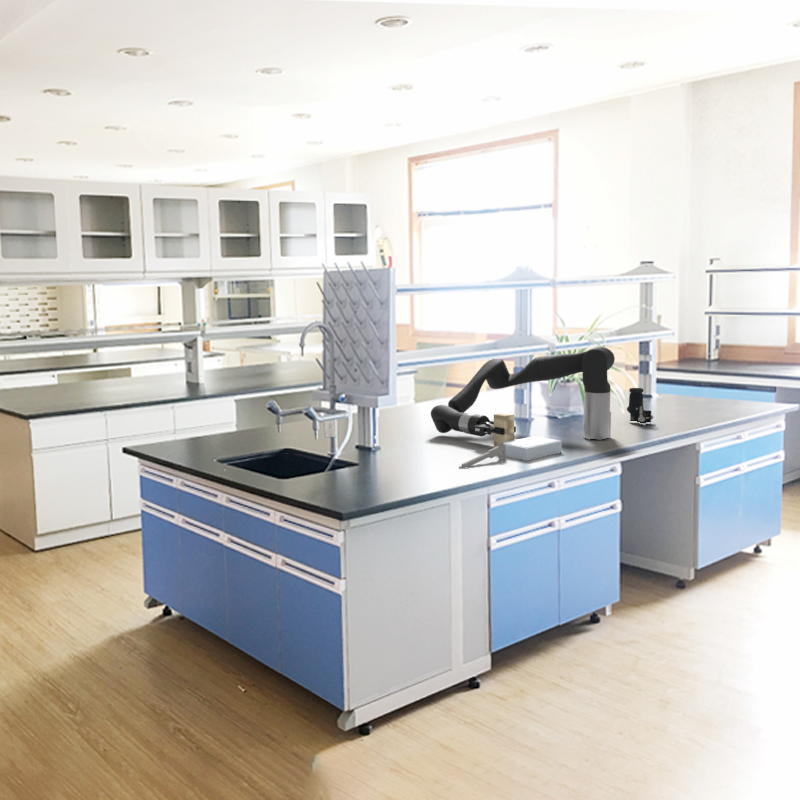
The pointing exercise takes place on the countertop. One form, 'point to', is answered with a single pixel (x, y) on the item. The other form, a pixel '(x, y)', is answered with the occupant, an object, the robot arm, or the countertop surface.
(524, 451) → the white chamfered block
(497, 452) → the caliper
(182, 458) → the countertop surface
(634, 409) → the scope
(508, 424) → the maple block
